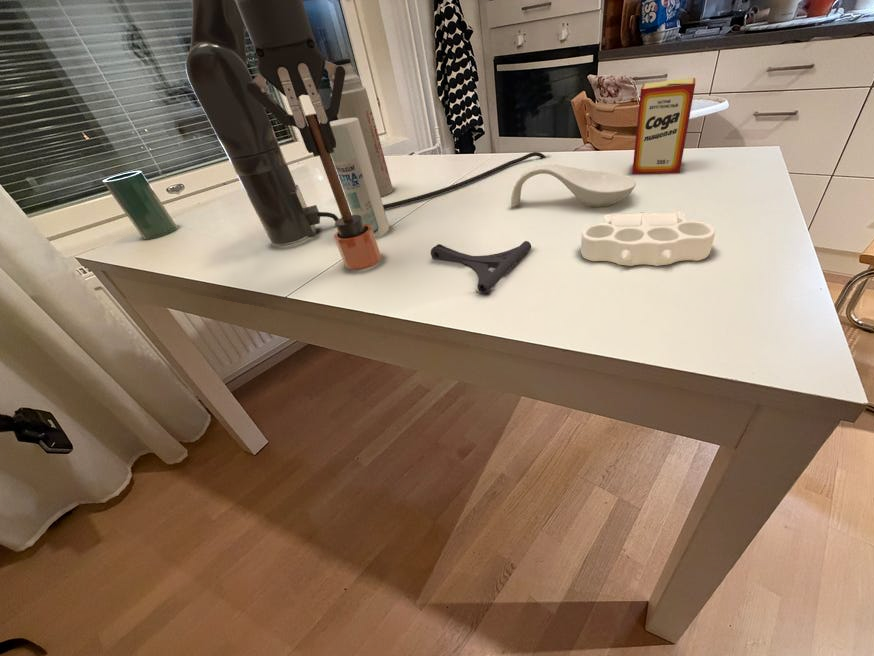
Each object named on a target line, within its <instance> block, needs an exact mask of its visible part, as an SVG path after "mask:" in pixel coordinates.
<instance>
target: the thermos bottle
mask: <svg viewBox="0 0 874 656" xmlns="http://www.w3.org/2000/svg"><path fill="white" fill-rule="evenodd" d="M330 62H331V63H333V64H335V65H337V66H342V67H343V68H344V69H345V79H344V84H343V90H342V96H341V101H340V107H339V112H338V115H336V117H337V120H340V119H346V118H358V120H359V123H360V126H361V130H362V133H363V137H364V140H365V144H366V147H367V151H368V154H369V158H370V161H371V165H372V168H373V172H374V176H375V179H376V183H377V186H378V190H379V193H380V197H381V198H382V197H384V196H388V195H390V194H391V193H392V192H393V191H394V189H393V184H392V181H391V177H390V173H389V171H388V166H387V162H386V158H385V154H384V151H383V147H382V142H381V140H380V136H379V133H378V129H377V125H376V121H375V118H374V114H373V110H372V106H371V102H370V98H369V96H368V91H367V88H366V87H364V86H363V85H362V80H361V78H360V76H359V75H358V74H356V73H355V71H354V67H353V66H352V61H351V58H340V59H339V58H338V59H335V60H331V61H330ZM329 84H330V85H329V87H330V88H331V90H333V84H334V83H333V82H331V81H330V80H329ZM331 96H332V93H330V97H331Z"/></svg>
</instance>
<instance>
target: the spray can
mask: <svg viewBox="0 0 874 656" xmlns="http://www.w3.org/2000/svg"><path fill="white" fill-rule="evenodd" d="M330 125H331V128H332V131H333V134H334V137H335V140H336V148H334V153H330V154H331V157H332V160H333V163H334V166H335V169H336V171H337V174H338V177H339V180H340V183H341V186H342V189H343V192H344V194H345V197H346V200H347V203H348V206H349V209H350V212H351V215H360V216H361V217H362V220H363V223H364V224H368V225H371V226H372V229H373V232H374V235H375V237H376V236H379V235H382V234H384V233H386V232H388V230H389V229H390V225H389V222H388V218H387V214H386V211H385V209H384V207H383V205H384V203H383V200H382V197H380V193H379V190H378V186H377V183H376V179H375V176H374V172H373V168H372V165H371V161H370V158H369V154H368V151H367V147H366V144H365V140H364V137H363V133H362V130H361V126H360V123H359V120H358V118H346V119H340V120H338V119H336V120H332V121H331V120H330Z"/></svg>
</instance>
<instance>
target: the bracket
mask: <svg viewBox="0 0 874 656" xmlns="http://www.w3.org/2000/svg"><path fill="white" fill-rule="evenodd" d="M531 249H532V243H531V242H529V241H528V240H524V241H523V242H522V243H521V244H520V245H519V246H516V247H513V248H511V249H508V250H506V251H505V250H504V251H501V252H497V253H493V254H485V255H484V254H483V255H471V254H467V253H464V252H460V251H457V250H455V249H452V248H449V247H447V246H445V245H443V244H440V243H438V244H436V245H435V246H433V247H432V248H431V249H430V256H431V258H432V260H433V259H434V260H439V261H446V262H452V263H458V264H459V263H460V264H464V265H466V266H468V267H470V268H471V269H473V270H474V271H475V273H476V275H477V277H478V279H477V286H476V287H477V291H478V292H479V293H481V294H484V295H485V294H487V293H488V292H489V291H491V290H492V288H494V286H495V285H496V284H497V283H498V282H499V281H500V280H501V279H502V278H503V277H504V276H505V275H506V274H508V272H509V271H510V270H511V269H512V268H514V266H515V265H516V264H518V263H519V262H520V261H521V259H522V258H524V257H525V256H526V255H527V254H528V252H529V251H530V250H531ZM489 268H492V269H493V270H492V271H491V270H489Z"/></svg>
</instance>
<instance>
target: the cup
mask: <svg viewBox="0 0 874 656" xmlns="http://www.w3.org/2000/svg"><path fill="white" fill-rule="evenodd" d="M102 183H103V184H104V185H105V187H106V188H107V190H108V191H109V193H110V194H111V195H112V197H113V199H114V200H115V201H116V202H117V204H118V205H119V207H120V208H121V209H122V211H123V212H124V213H125V215H126V216H127V217H128V219H129V221H130V222H131V223H132V225H133V226H134V227H135V229H136V230H137V231H138V233H139V235H141V237H142V238H143V239H144V240H152V239H157V238H161V237H164V236H167V235H170V234H172V233H173V232H175V231H176V230H178V226H177V224H176V222H175V221H174V220H173V218H172V216H171V215H170V214H169V212H168V210H167V209H166V207H165V206H164V204H163V203H162V201H161V199H160V198H159V196H158V195H157V194H156V192H155V190H154V189H153V187H152V186H151V184H150V183H149V181H148V179H147V178H146V177H145V175H144V174H143V171H141V170H135V171H129V172H125V173H121V174H116V175H114V176H110V177H108V178H106V179H103V180H102Z"/></svg>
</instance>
